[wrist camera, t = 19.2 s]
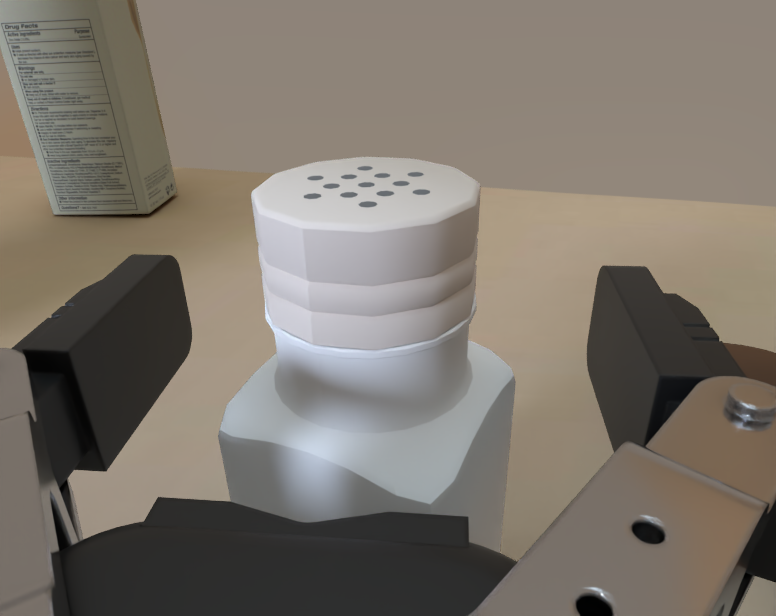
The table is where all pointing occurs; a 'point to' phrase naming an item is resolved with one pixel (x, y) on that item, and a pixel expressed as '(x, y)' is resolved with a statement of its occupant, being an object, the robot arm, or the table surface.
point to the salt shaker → (371, 352)
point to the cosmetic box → (88, 104)
